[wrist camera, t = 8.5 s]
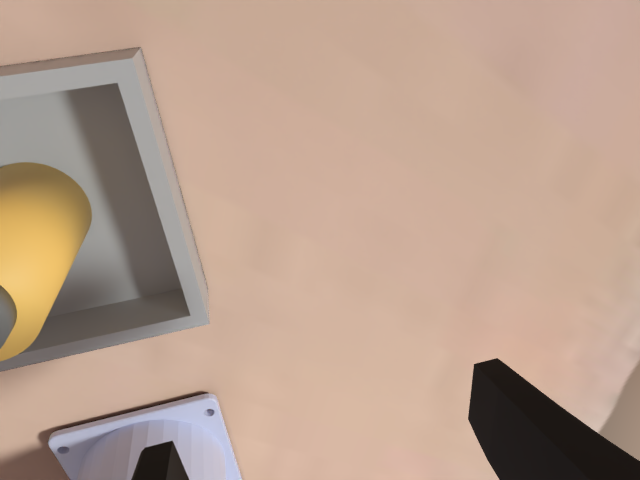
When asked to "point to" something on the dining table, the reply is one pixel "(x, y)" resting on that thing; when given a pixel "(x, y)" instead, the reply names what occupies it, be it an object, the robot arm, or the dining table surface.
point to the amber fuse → (35, 246)
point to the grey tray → (106, 201)
